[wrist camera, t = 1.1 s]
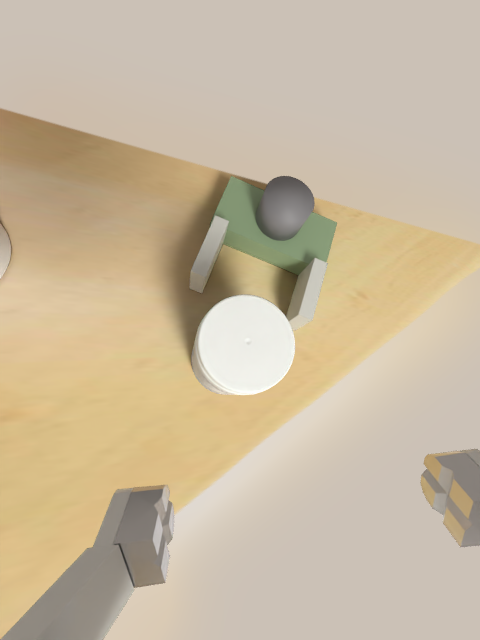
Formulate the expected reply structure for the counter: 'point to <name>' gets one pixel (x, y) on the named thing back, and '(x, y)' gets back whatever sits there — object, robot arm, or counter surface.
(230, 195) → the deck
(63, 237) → the counter surface
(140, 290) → the counter surface
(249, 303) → the supplement tub
